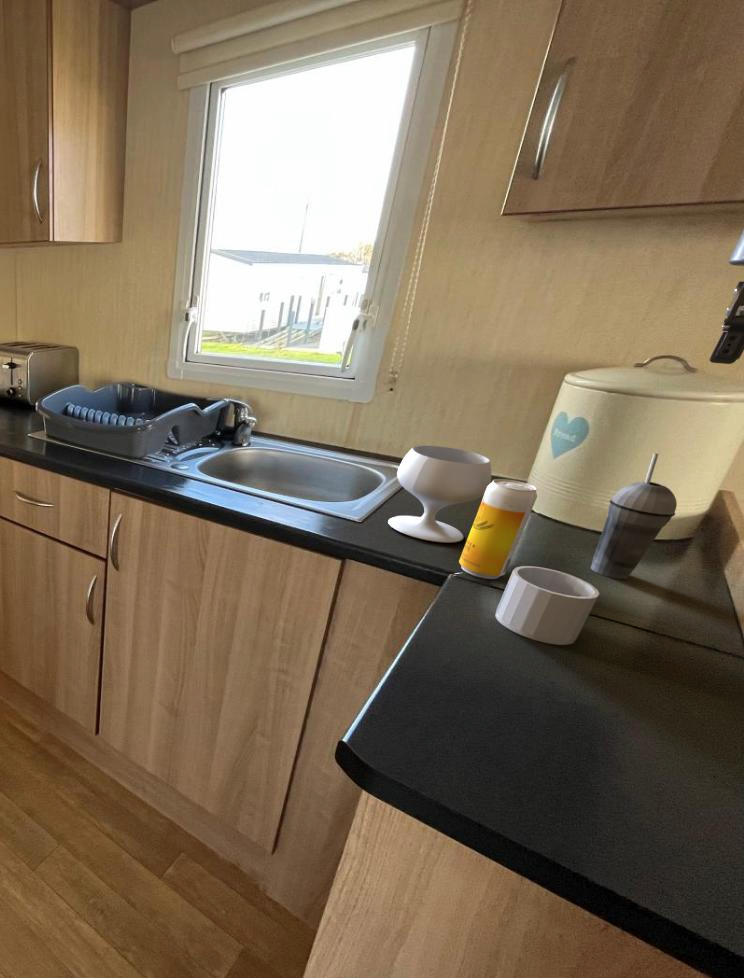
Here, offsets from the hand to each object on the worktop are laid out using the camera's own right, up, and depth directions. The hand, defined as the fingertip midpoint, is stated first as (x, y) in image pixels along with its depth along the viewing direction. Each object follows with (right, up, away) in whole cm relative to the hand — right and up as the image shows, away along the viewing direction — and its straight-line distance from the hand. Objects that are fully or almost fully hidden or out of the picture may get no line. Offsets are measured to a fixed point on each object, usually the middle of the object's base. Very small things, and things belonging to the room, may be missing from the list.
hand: (723, 361), depth 72 cm
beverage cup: (+4, -29, +18) cm, 35 cm away
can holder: (-22, -35, +3) cm, 42 cm away
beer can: (-18, -29, +17) cm, 39 cm away
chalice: (-17, -23, +32) cm, 43 cm away
